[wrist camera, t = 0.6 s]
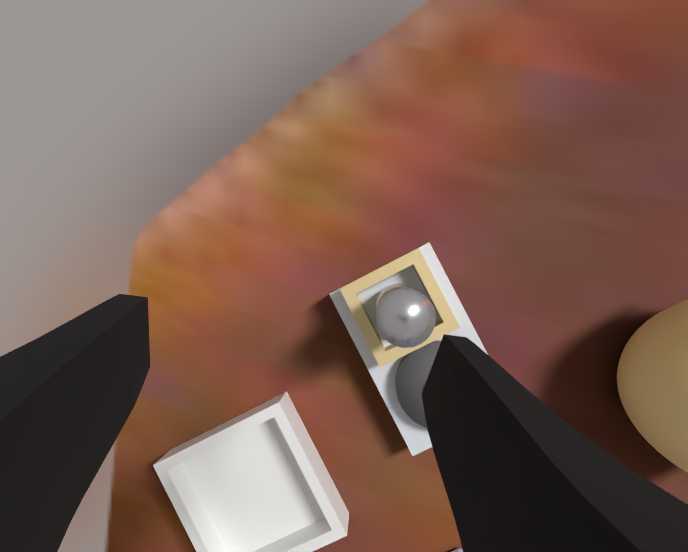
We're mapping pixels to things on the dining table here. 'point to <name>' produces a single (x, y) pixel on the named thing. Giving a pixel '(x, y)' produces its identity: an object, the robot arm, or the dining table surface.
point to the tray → (254, 485)
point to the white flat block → (396, 362)
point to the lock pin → (404, 316)
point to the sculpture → (659, 382)
